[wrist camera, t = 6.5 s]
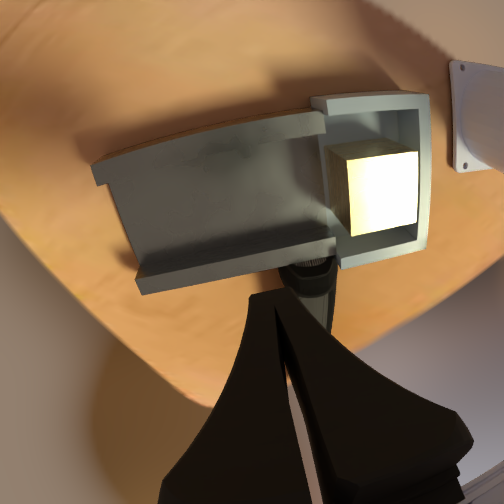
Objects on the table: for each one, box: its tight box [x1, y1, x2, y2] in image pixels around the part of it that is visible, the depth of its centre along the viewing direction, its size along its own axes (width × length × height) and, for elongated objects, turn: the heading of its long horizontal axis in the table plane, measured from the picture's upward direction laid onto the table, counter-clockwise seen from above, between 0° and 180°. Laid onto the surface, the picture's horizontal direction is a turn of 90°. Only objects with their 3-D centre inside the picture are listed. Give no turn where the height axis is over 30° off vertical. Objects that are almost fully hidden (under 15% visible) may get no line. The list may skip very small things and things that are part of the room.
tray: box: [310, 90, 431, 270], centre depth 17 cm, size 6×10×3 cm, turn 11°
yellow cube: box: [324, 138, 418, 236], centre depth 16 cm, size 4×4×4 cm
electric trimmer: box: [278, 255, 338, 334], centre depth 22 cm, size 4×16×3 cm, turn 7°
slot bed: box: [90, 107, 337, 295], centre depth 17 cm, size 12×8×2 cm
